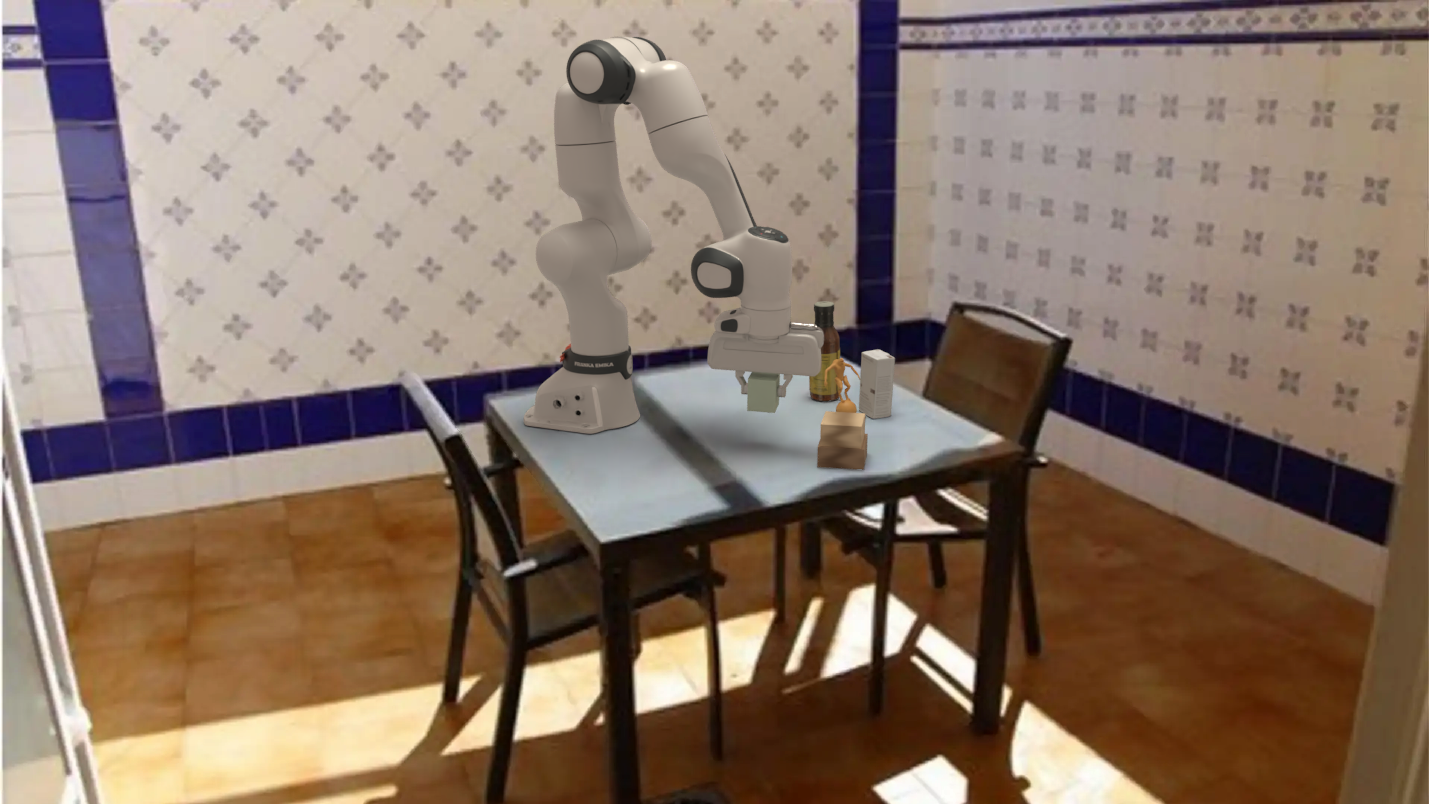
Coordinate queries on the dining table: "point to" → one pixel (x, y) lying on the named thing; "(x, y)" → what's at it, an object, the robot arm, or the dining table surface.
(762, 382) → the green block
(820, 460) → the tower base
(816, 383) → the sauce bottle
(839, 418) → the tower top
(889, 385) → the skincare box
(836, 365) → the figurine
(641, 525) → the dining table surface
